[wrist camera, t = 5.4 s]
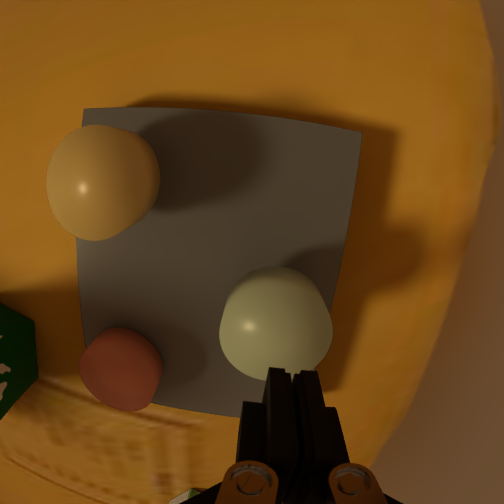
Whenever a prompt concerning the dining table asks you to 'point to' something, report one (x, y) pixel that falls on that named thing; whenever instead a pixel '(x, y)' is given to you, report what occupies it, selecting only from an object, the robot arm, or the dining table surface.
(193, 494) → the syrup box
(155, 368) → the red rounded lump
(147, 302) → the plate
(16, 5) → the dining table surface
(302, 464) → the robot arm
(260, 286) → the pale green ball
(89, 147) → the tan rounded piece
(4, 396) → the milk carton
